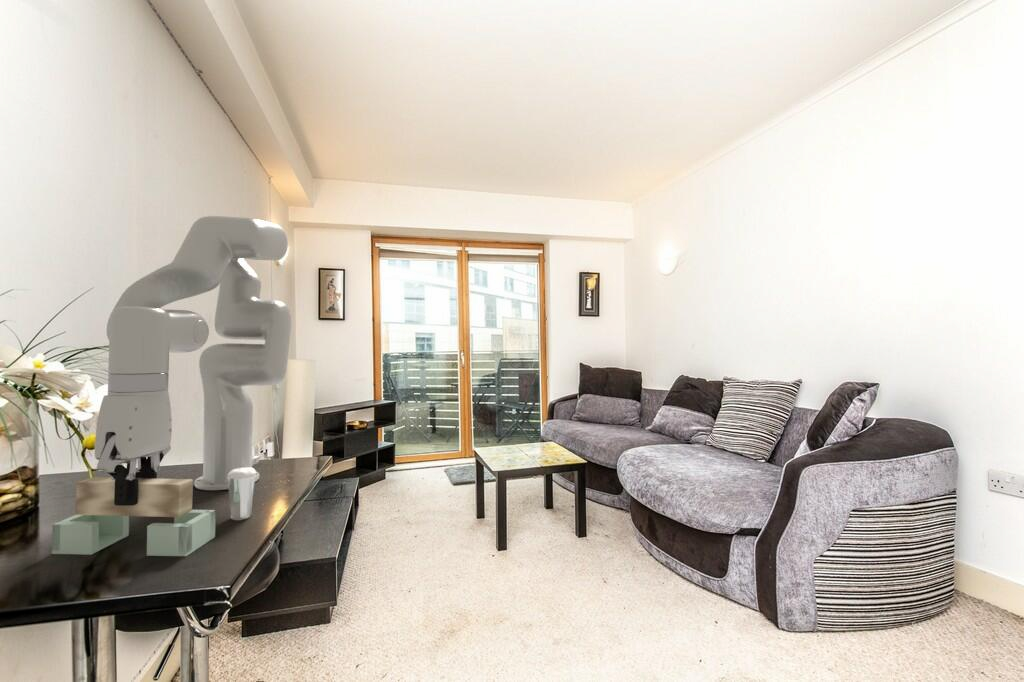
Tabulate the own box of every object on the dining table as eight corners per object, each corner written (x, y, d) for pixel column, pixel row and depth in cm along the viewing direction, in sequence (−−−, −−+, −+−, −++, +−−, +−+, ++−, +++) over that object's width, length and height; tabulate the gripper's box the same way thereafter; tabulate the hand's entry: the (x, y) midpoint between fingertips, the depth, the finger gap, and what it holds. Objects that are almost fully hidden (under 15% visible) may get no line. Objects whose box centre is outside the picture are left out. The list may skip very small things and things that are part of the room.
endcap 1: (52, 553, 71) (52, 524, 71) (92, 534, 78) (93, 507, 78) (91, 554, 71) (91, 525, 71) (128, 535, 78) (129, 508, 78)
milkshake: (256, 509, 90) (256, 458, 90) (254, 519, 85) (255, 465, 85) (228, 513, 88) (229, 460, 88) (225, 523, 83) (226, 467, 83)
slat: (75, 514, 72) (76, 482, 72) (92, 508, 75) (94, 477, 75) (178, 517, 72) (179, 484, 72) (192, 510, 75) (193, 479, 75)
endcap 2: (215, 536, 78) (215, 510, 78) (186, 556, 71) (186, 526, 71) (179, 536, 78) (179, 509, 78) (146, 555, 71) (147, 526, 71)
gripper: (154, 380, 82) (151, 485, 82) (66, 388, 66) (62, 519, 66) (197, 381, 82) (194, 486, 82) (119, 389, 66) (115, 520, 66)
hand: (135, 499), depth 74 cm, fingers closed on slat, 3 cm apart
